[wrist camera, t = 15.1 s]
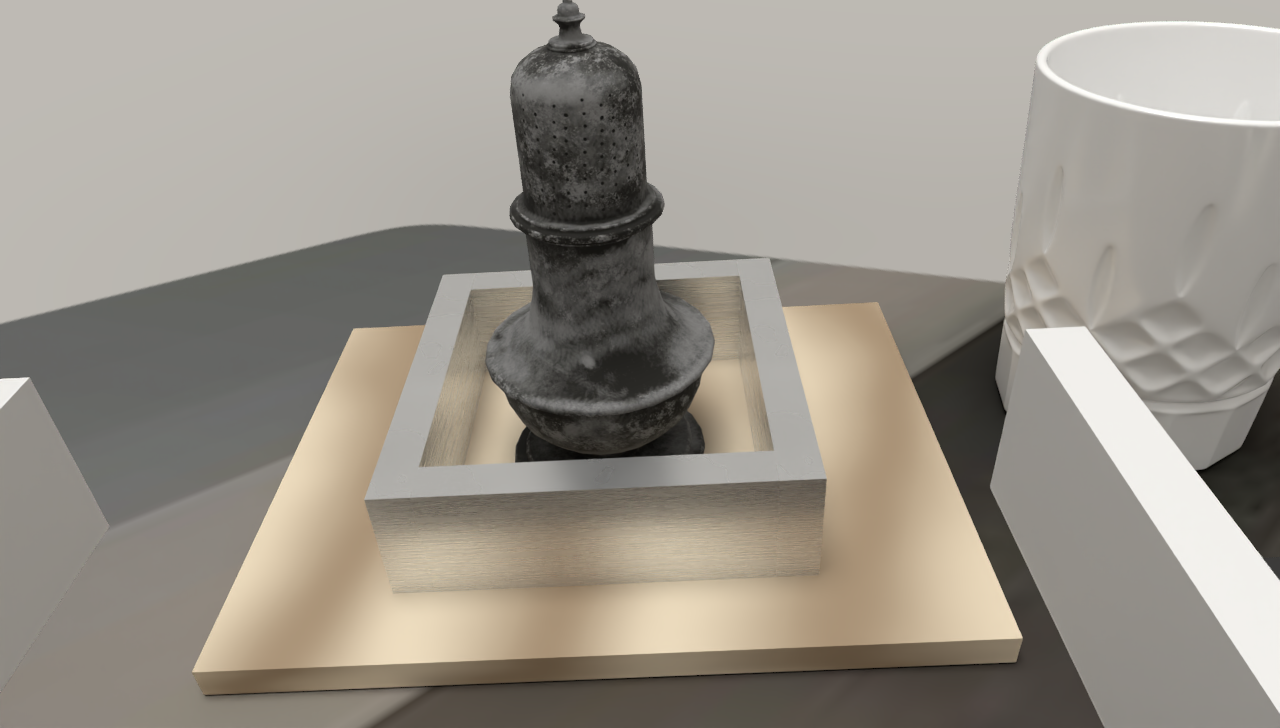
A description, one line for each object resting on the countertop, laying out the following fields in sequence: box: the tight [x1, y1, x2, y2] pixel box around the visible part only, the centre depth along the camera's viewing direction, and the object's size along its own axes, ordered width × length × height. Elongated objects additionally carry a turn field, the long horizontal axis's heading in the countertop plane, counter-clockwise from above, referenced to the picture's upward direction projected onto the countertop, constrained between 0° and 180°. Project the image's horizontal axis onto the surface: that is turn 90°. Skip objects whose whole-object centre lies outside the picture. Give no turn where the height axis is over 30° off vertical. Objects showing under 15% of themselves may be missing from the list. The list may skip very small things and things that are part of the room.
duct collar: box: [364, 258, 827, 594], centre depth 25 cm, size 10×10×3 cm
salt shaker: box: [485, 0, 715, 463], centre depth 22 cm, size 6×6×12 cm
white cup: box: [995, 21, 1280, 470], centre depth 24 cm, size 8×8×10 cm
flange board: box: [192, 302, 1023, 695], centre depth 26 cm, size 18×14×1 cm
